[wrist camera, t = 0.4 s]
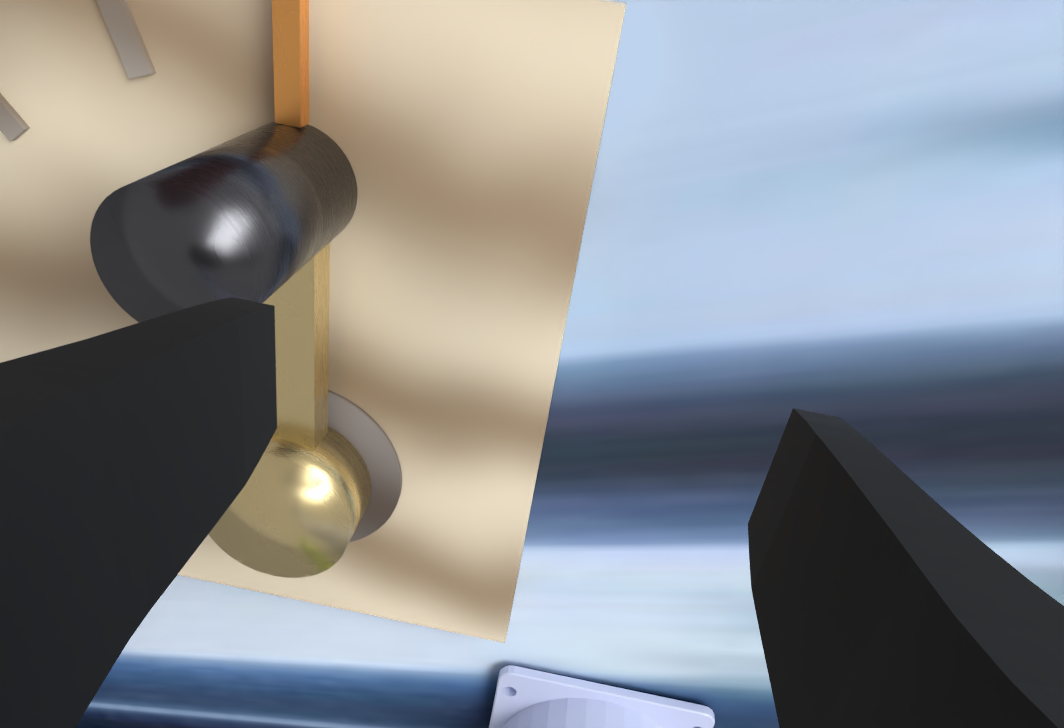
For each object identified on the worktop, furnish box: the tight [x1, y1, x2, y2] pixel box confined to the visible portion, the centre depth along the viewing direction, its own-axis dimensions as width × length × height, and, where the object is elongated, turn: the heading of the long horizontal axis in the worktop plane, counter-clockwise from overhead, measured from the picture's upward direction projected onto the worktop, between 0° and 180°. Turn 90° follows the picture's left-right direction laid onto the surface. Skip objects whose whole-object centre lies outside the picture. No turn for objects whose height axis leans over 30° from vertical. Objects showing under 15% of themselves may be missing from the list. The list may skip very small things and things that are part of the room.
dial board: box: [0, 0, 626, 643], centre depth 21 cm, size 20×21×1 cm
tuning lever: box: [90, 0, 371, 578], centre depth 17 cm, size 16×4×6 cm, turn 172°
